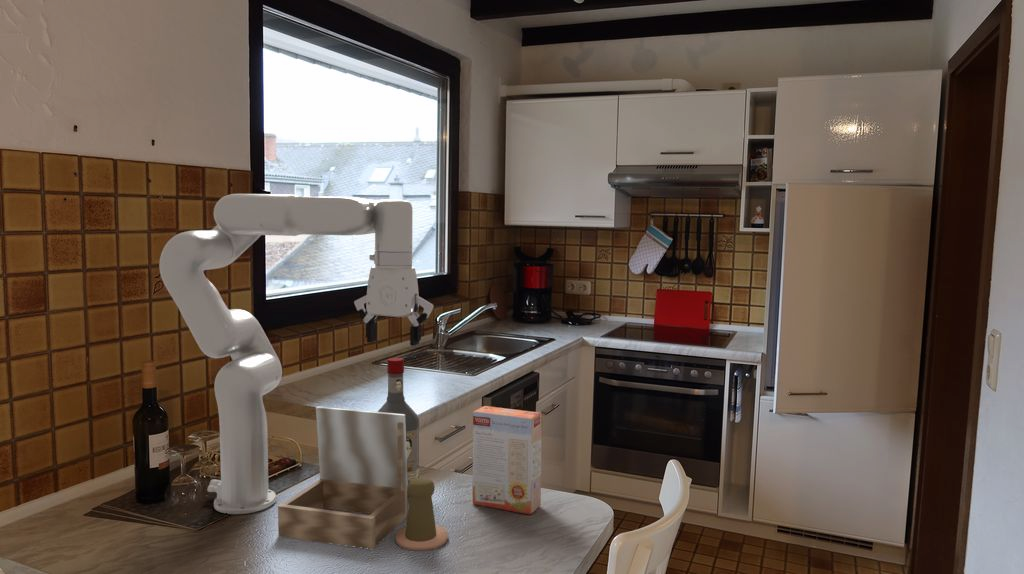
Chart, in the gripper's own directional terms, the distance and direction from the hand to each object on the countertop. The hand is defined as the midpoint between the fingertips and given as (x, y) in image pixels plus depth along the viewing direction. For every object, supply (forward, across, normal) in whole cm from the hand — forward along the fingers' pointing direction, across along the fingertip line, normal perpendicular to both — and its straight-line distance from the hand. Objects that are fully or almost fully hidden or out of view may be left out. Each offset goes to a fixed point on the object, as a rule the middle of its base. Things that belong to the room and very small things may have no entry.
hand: (393, 342), depth 151 cm
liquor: (+36, -5, +12) cm, 39 cm away
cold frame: (+36, -6, -10) cm, 38 cm away
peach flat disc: (+36, +11, -11) cm, 39 cm away
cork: (+35, +11, -11) cm, 38 cm away
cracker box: (+36, +22, +10) cm, 44 cm away
